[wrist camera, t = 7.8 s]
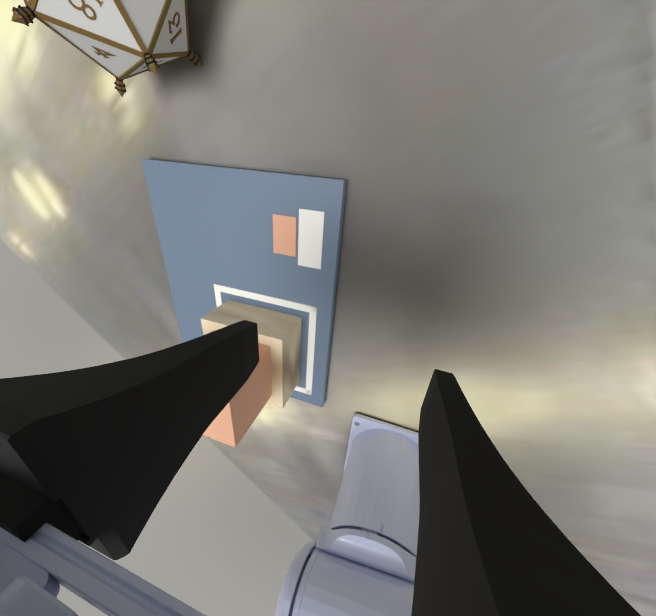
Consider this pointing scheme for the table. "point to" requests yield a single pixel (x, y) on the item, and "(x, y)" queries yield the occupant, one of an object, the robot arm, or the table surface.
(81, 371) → the robot arm
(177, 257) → the board
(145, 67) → the game die
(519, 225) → the table surface
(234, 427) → the terracotta cube
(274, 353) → the beech block
